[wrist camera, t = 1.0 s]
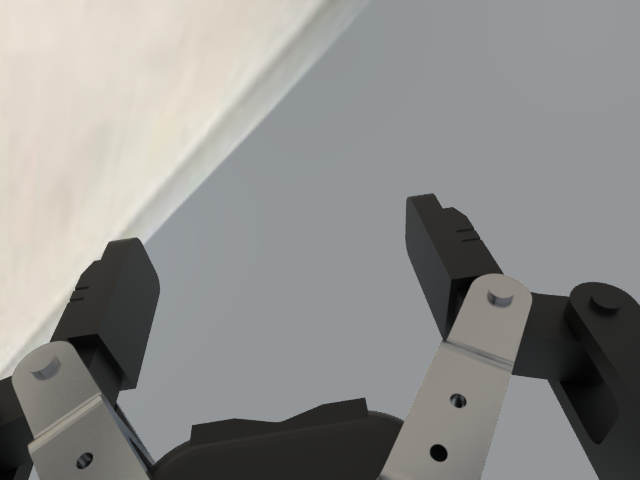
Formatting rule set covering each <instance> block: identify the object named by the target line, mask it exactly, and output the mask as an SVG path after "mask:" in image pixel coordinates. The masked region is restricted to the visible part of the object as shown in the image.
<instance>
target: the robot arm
mask: <svg viewBox="0 0 640 480" xmlns="http://www.w3.org/2000/svg"><path fill="white" fill-rule="evenodd" d="M405 239H406V248H407V252H408V256H409V258H410V261H411V263H412V265H413V268H414V270H415V273H416V275H417V278H418V280H419V283H420V285H421V287H422V290H423V292H424V295H425V297H426V300H427V302H428V304H429V307H430V309H431V312H432V314H433V317H434V319H435V321H436V324H437V326H438V329H439V331H440V333H441V336H442V338H443V340H442V342H441V343H440V345H439V347H438V349H437V351H436V353H435V355H434V358H433V360H432V362H431V364H430V366H429V369H428V371H427V374H426V376H425V378H424V380H423V382H422V384H421V386H420V389H419V391H418V393H417V395H416V397H415V400H414V402H413V404H412V406H411V408H410V411H409V413H408V415H407V418H406V420H405V421H403V420H401V419H399V418H397V417H395V416H392V415H389V414H386V413H381V412H377V411H368V409H367V405H366V400H365V398H360V399H354V400H348V401H341V402H335V403H329V404H323V405H320V406H318V407H316V408H313V409H311V410H308V411H306V412H304V413H301V414H299V415H297V416H294V417H292V418H290V419H287V420H285V421H282V422H266V421H256V420H245V419H229V420H222V421H216V422H210V423H204V424H197V425H192V430H191V438H190V440H189V441H187V442H184V443H183V444H181V445H179V446H177V447H175V448H174V449H173V450H171V451H170V452H168V453H167V454H165V455H164V456H163V457H162V458H161V459H160V460H158V461H157V462H155V461H154V460H153V458H152V457H151V455H150V454H149V452H148V451H147V449H146V448H145V446H144V445H143V443H142V441H141V440H140V438H139V437H138V435H137V434H136V432H135V430H134V428H133V427H132V425H131V424H130V422H129V420H128V419H127V417H126V416H125V414H124V412H123V411H122V409H121V408H120V406H119V405H118V403H117V402H116V400H117V397H118V394H119V391H122V390H128V389H134V388H136V385H137V382H138V378H139V374H140V370H141V366H142V361H143V358H144V354H145V350H146V346H147V342H148V338H149V334H150V330H151V325H152V322H153V318H154V314H155V310H156V306H157V302H158V298H159V294H160V284H159V279H158V276H157V273H156V271H155V269H154V267H153V265H152V263H151V261H150V259H149V257H148V255H147V253H146V251H145V249H144V246H143V244H142V243H141V241H140V240H139V239H138V238H129V239H123V240H116V241H110V242H109V243H108V245H107V247H106V249H105V251H104V253H103V256H102V258H101V260H98V261H94V262H93V263H92V264H91V265H90V266H89V267H88V268H87V269H86V270H85V271H84V272H83V273H82V274H81V276H80V279H79V281H78V283H77V285H76V287H75V291H73V293H72V296H71V298H70V302H69V303H68V304H67V306H66V308H65V310H64V312H63V315H62V317H61V319H60V321H59V323H58V325H57V327H56V329H55V332H54V334H53V336H52V338H51V340H50V342H49V343H47V344H45V345H42V346H40V347H38V348H36V349H35V350H33V351H32V352H30V353H29V354H28V355H27V356H25V357H24V358H23V359H22V360H21V362H20V363H19V364H18V365H17V367H16V368H15V370H14V372H13V375H12V376H10V377H8V378H5V379H3V380H0V480H28V479H29V476H30V473H31V470H32V467H33V464H34V466H35V468H36V471H37V473H38V476H39V479H40V480H480V479H481V476H482V472H483V469H484V465H485V462H486V459H487V455H488V452H489V448H490V445H491V442H492V438H493V435H494V431H495V428H496V424H497V421H498V417H499V414H500V410H501V407H502V404H503V401H504V397H505V394H506V390H507V387H508V384H509V380H510V377H511V375H518V376H525V377H533V378H540V379H547V380H548V382H549V383H550V385H551V388H552V389H553V391H554V393H555V395H556V397H557V399H558V401H559V403H560V405H561V407H562V408H563V411H564V413H565V414H566V416H567V418H568V420H569V422H570V424H571V426H572V428H573V430H574V432H575V433H576V436H577V438H578V439H579V441H580V443H581V445H582V447H583V449H584V451H585V453H586V455H587V456H588V459H589V461H590V462H591V464H592V466H593V468H594V470H595V472H596V474H597V476H598V478H599V480H640V305H639V304H638V303H637V302H636V301H635V300H634V299H633V298H632V297H631V296H630V295H629V294H628V293H626V292H625V291H623V290H621V289H619V288H617V287H615V286H612V285H608V284H605V283H599V282H587V283H582V284H580V285H578V286H576V287H575V288H574V289H573V290H572V291H571V293H570V296H569V297H567V296H556V295H545V294H537V293H533V292H530V291H529V289H528V288H527V287H526V286H525V285H524V284H523V283H522V282H520V281H519V280H517V279H515V278H513V277H510V276H507V275H504V274H503V272H502V271H501V269H500V268H499V266H498V264H497V263H496V261H495V260H494V258H493V257H492V255H491V254H490V252H489V250H488V249H487V247H486V246H485V244H484V243H483V241H482V240H480V237H479V235H478V233H477V232H476V231H475V230H474V227H473V226H472V224H471V223H470V221H469V220H468V218H467V216H465V215H464V214H462V213H461V212H459V211H458V210H456V209H455V208H453V207H451V208H445V209H443V208H442V207H441V205H440V203H439V202H438V200H437V198H436V196H435V195H434V194H433V193H431V194H424V195H418V196H411V197H408V198H407V202H406V235H405Z"/></svg>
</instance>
